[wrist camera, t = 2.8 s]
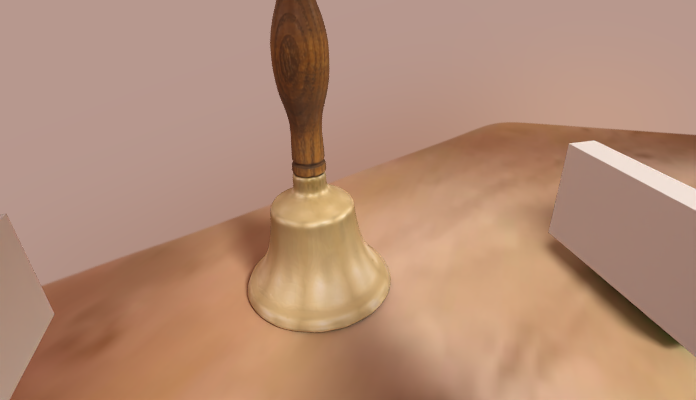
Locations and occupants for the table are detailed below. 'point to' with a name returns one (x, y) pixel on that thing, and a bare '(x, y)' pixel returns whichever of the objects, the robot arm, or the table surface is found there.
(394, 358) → the table surface
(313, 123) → the hand bell
